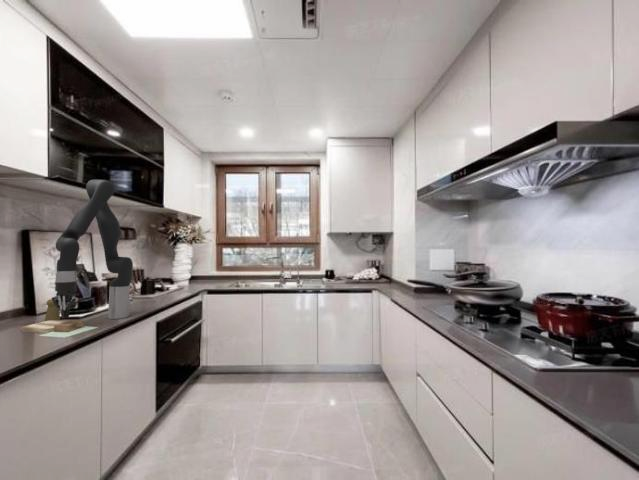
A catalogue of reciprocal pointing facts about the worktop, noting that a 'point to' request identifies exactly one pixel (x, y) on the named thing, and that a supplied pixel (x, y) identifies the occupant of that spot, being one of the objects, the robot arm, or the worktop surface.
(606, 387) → the worktop surface
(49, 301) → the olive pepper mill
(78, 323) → the walnut tile
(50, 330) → the birch deck
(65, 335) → the sage mat
